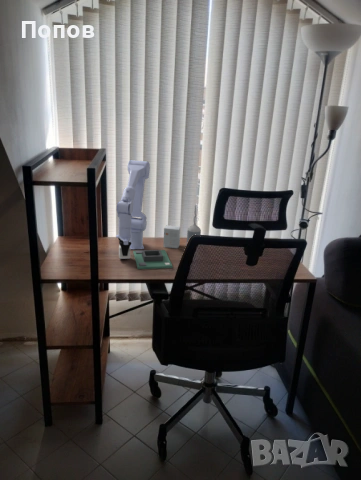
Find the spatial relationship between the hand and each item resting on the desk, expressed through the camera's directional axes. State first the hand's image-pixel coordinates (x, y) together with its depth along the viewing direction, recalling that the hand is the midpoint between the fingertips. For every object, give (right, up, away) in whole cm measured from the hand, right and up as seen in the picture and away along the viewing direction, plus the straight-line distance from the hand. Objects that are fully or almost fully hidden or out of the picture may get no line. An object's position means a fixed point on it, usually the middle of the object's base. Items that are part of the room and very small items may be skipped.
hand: (124, 253), depth 187 cm
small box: (+22, +3, +21) cm, 31 cm away
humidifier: (+33, 0, +14) cm, 36 cm away
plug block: (0, -1, +1) cm, 2 cm away
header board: (+13, -3, +2) cm, 13 cm away
